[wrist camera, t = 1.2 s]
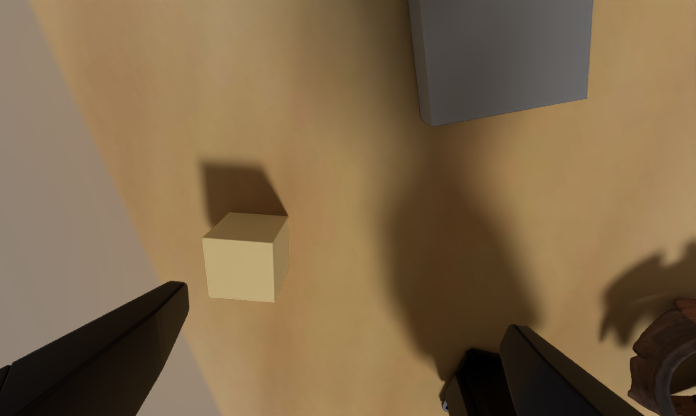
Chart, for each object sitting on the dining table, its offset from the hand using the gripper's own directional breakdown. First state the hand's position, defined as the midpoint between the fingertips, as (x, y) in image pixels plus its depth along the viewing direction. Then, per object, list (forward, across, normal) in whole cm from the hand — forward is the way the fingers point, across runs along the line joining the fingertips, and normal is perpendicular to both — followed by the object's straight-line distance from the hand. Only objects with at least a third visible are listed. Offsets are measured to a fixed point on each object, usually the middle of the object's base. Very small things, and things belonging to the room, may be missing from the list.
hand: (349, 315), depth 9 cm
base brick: (+13, -6, -8) cm, 16 cm away
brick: (+12, +6, +6) cm, 15 cm away
